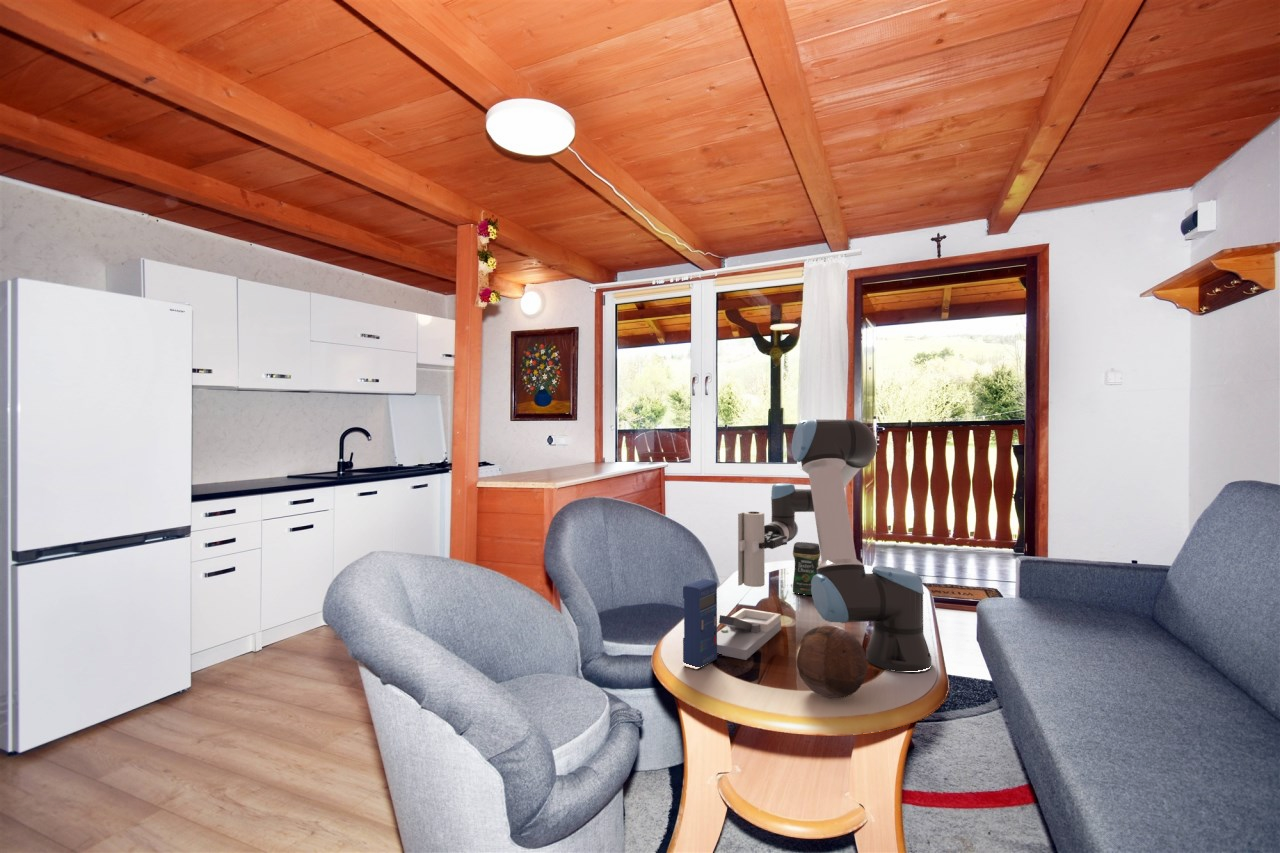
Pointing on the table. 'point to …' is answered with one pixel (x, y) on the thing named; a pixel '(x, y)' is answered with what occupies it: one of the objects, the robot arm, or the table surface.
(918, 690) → the table surface
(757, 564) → the paper towel roll
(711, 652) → the electronic device
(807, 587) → the coffee jar
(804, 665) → the wooden sphere
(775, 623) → the board
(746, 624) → the breaker lever
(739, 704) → the table surface
